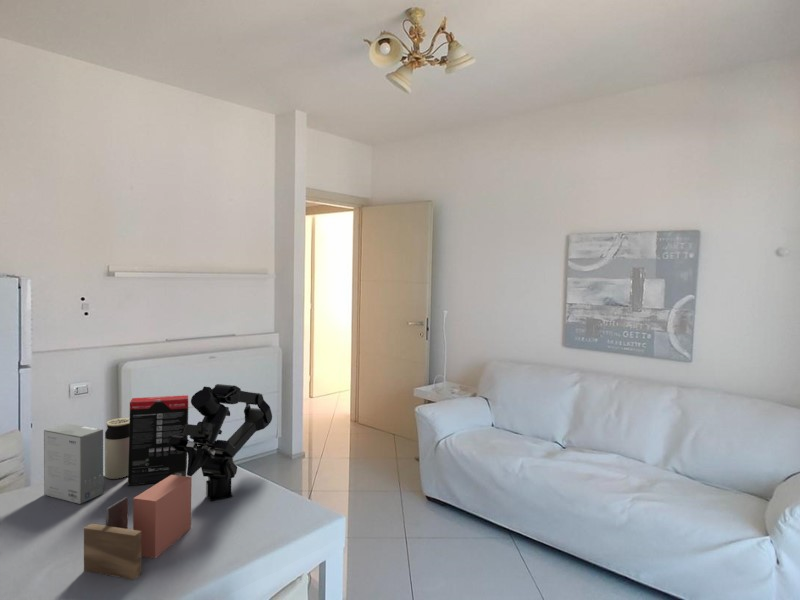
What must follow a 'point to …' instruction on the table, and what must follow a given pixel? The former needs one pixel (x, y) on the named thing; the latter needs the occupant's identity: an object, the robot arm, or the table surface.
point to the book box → (163, 514)
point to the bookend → (118, 514)
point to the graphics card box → (156, 438)
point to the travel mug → (117, 448)
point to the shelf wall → (112, 551)
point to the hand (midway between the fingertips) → (189, 475)
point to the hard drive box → (73, 462)
